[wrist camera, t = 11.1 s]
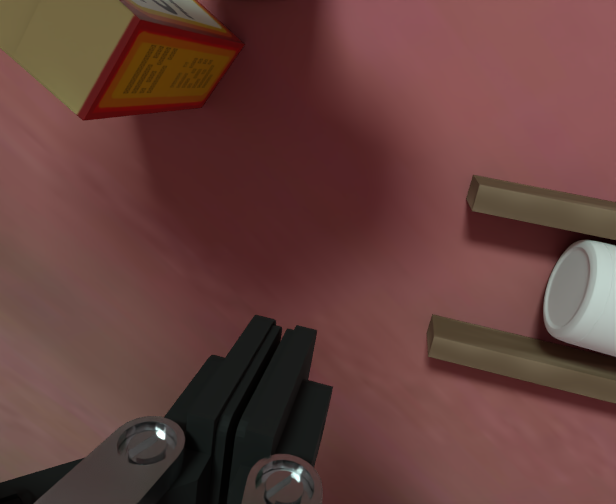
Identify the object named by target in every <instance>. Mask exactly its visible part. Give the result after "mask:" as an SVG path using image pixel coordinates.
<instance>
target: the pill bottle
mask: <svg viewBox="0 0 616 504" xmlns="http://www.w3.org/2000/svg"><path fill="white" fill-rule="evenodd" d="M543 317H544V323H545V326H546V329H547V331H548V332H549V333H550V334H551V335H552V336H553V337H554V338H556V339H558V340H561V341H564V342H566V343H569V344H573V345H576V346H580V347H583V348H587V349H590V350H594V351H597V352H601V353H604V354H608V355H611V356H615V357H616V246H615V245H611V244H607V243H603V242H600V241H594V240H579V241H577V242H575V243H573V244H572V245H570V246H569V247H568V248H567V249H566V250H565V251H564V253H563V254H562V255H561V257H560V258H559V260H558V261H557V263H556V265H555V267H554V269H553V271H552V273H551V275H550V278H549V281H548V284H547V287H546V291H545V296H544V304H543Z"/></svg>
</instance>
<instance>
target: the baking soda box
mask: <svg viewBox="0 0 616 504" xmlns="http://www.w3.org/2000/svg"><path fill="white" fill-rule="evenodd" d="M244 45H245V44H244V43H243V42H242V41H241V40H240V39H238V38H237V37H236V36H235V35H234V34H233V33H232V32H231V31H230V30H229V29H228V28H226V27H225V26H224V25H223V24H222V23H221V22H220V21H219V20H218V19H217V18H216V17H215V16H213V15H212V14H211V13H210V12H209V11H208V10H207V9H206V8H205V7H204V6H203V5H201V4H200V3H199V2H198V1H197V0H0V48H1V49H2V50H3V51H4V52H5V53H7V54H8V55H9V56H10V57H11V58H12V59H13V60H15V61H16V62H17V63H18V64H19V65H20V66H21V67H23V68H24V69H25V70H26V71H27V72H28V73H29V74H31V75H32V76H33V77H34V78H35V79H36V80H37V81H39V82H40V83H41V84H42V85H43V86H44V87H45V88H47V89H48V90H49V91H50V92H51V93H52V94H53V95H55V96H56V97H57V98H58V99H59V100H60V101H61V102H63V103H64V104H65V105H66V106H67V107H68V108H69V109H71V110H72V111H73V112H74V113H75V114H76V115H77V116H79V117H80V118H81V119H82V120H83V121H84V120H93V119H102V118H111V117H121V116H130V115H139V114H148V113H158V112H167V111H176V110H185V109H194V108H202V106H203V105H204V103H205V102H206V101H207V99H208V98H209V96H210V95H211V93H212V92H213V90H214V89H215V87H216V86H217V84H218V83H219V82H220V80H221V79H222V77H223V76H224V74H225V73H226V71H227V70H228V68H229V67H230V65H231V64H232V63H233V61H234V60H235V58H236V57H237V55H238V54H239V52H240V51H241V49H242V48H243V46H244Z"/></svg>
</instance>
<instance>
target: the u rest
mask: <svg viewBox="0 0 616 504" xmlns="http://www.w3.org/2000/svg"><path fill="white" fill-rule="evenodd" d="M466 199H467V201H468V203H469V206H470V208H471V210H472V211H475V212H480V213H485V214H490V215H495V216H500V217H505V218H509V219H514V220H519V221H524V222H529V223H534V224H539V225H544V226H549V227H554V228H559V229H564V230H569V231H573V232H578V233H583V234H588V235H593V236H598V237H603V238H608V239H613V240H616V202H612V201H607V200H601V199H596V198H591V197H586V196H580V195H575V194H570V193H565V192H560V191H554V190H549V189H544V188H539V187H534V186H528V185H523V184H518V183H513V182H508V181H502V180H497V179H492V178H487V177H482V176H476V175H473V177H472V181H471V184H470V188H469V191H468V194H467V198H466ZM427 344H428V357H432V358H436V359H440V360H444V361H448V362H452V363H456V364H460V365H464V366H468V367H472V368H476V369H480V370H484V371H488V372H492V373H496V374H500V375H504V376H508V377H512V378H516V379H520V380H524V381H528V382H532V383H536V384H540V385H544V386H548V387H552V388H556V389H560V390H564V391H568V392H572V393H576V394H580V395H584V396H588V397H592V398H596V399H600V400H604V401H608V402H612V403H616V358H614V357H610V356H605V355H601V354H597V353H593V352H589V351H584V350H580V349H576V348H572V347H567V346H563V345H559V344H555V343H551V342H546V341H542V340H538V339H534V338H530V337H525V336H521V335H517V334H513V333H509V332H504V331H500V330H496V329H492V328H487V327H483V326H479V325H475V324H471V323H466V322H462V321H458V320H454V319H450V318H445V317H441V316H437V315H433V314H432V317H431V321H430V324H429V328H428V331H427Z"/></svg>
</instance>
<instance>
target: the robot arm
mask: <svg viewBox="0 0 616 504" xmlns="http://www.w3.org/2000/svg"><path fill="white" fill-rule="evenodd" d="M281 334H282V327H280V326H276V320H274V319H270V318H266V317H262V316H258V315H255V316H254V317H253V318H252V320H251V321H250V323H249V324H248V326H247V327H246V329H245V330H244V331H243V333H242V334H241V336H240V337H239V339H238V340H237V342H236V343H235V345H234V346H233V347H232V349H231V350H230V352H229V353H228V355H227V356H226V358H224V357H220V356H216V355H211V356H210V357H209V358H208V359H207V361H206V362H205V363H204V365H203V366H202V367H201V369H200V370H199V371H198V373H197V374H196V375H195V377H194V378H193V379H192V381H191V382H190V383H189V385H188V386H187V387H186V389H185V390H184V391H183V393H182V394H181V395H180V397H179V398H178V399H177V401H176V402H175V403H174V405H173V406H172V407H171V409H170V410H169V411H168V413H167V414H166V415H165V417H164V418H163V417H158V416H147V417H141V418H137V419H134V420H132V421H129V422H127V423H125V424H124V425H122V426H121V427H119V428H118V429H117V430H116V431H115V432H114V433H112V434H111V435H110V436H109V437H108V438H107V439H106V440H105V441H103V442H102V443H101V444H100V445H99V446H98V447H97V448H96V449H94V450H93V451H92V452H91V453H90V454H89V455H88V456H87V457H85V458H82V459H79V460H76V461H72V462H69V463H65V464H62V465H59V466H55V467H52V468H49V469H45V470H42V471H39V472H35V473H32V474H28V475H25V476H22V477H18V478H15V479H12V480H8V481H5V482H2V483H0V504H322V493H323V489H322V482H321V479H320V477H319V475H318V473H317V471H316V470H315V469H314V465H315V461H316V458H317V454H318V450H319V446H320V442H321V438H322V434H323V430H324V426H325V421H326V417H327V412H328V408H329V403H330V399H331V394H332V389H333V387H332V386H328V385H324V384H321V383H317V382H313V381H309V380H308V377H309V372H310V367H311V361H312V356H313V351H314V345H315V340H316V334H317V330H314V329H310V328H306V327H302V326H298V325H296V327H295V329H294V330H292V329H287V330H286V332H285V334H284V336H283V338H282V340H281ZM280 340H281V342H280Z"/></svg>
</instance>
